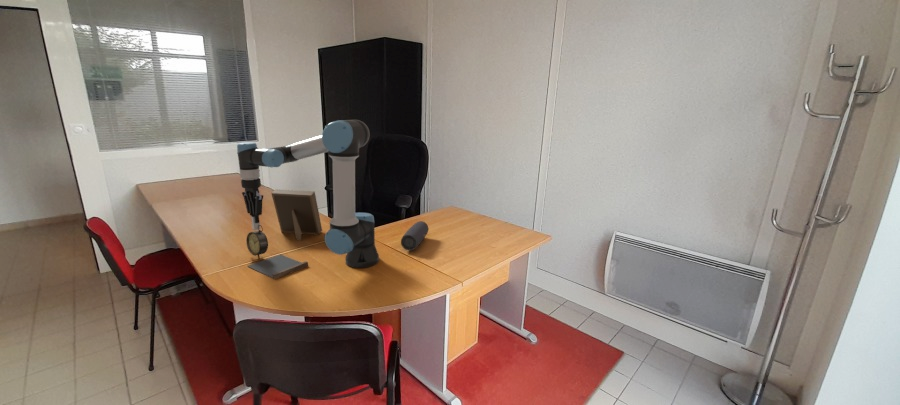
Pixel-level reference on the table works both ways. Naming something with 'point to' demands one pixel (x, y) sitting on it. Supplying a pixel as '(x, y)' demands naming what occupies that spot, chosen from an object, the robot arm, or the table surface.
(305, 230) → the photo frame
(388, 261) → the table surface
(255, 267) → the mat
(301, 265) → the stop strip
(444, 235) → the table surface
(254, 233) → the alarm clock
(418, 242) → the bluetooth speaker
